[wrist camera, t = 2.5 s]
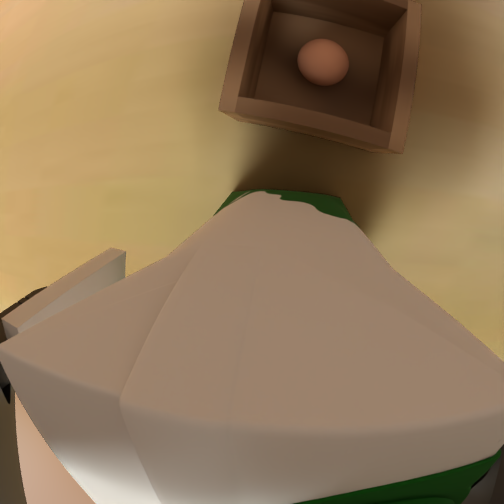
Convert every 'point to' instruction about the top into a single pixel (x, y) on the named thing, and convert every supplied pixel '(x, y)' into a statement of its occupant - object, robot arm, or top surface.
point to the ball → (323, 62)
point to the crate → (333, 96)
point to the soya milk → (264, 372)
